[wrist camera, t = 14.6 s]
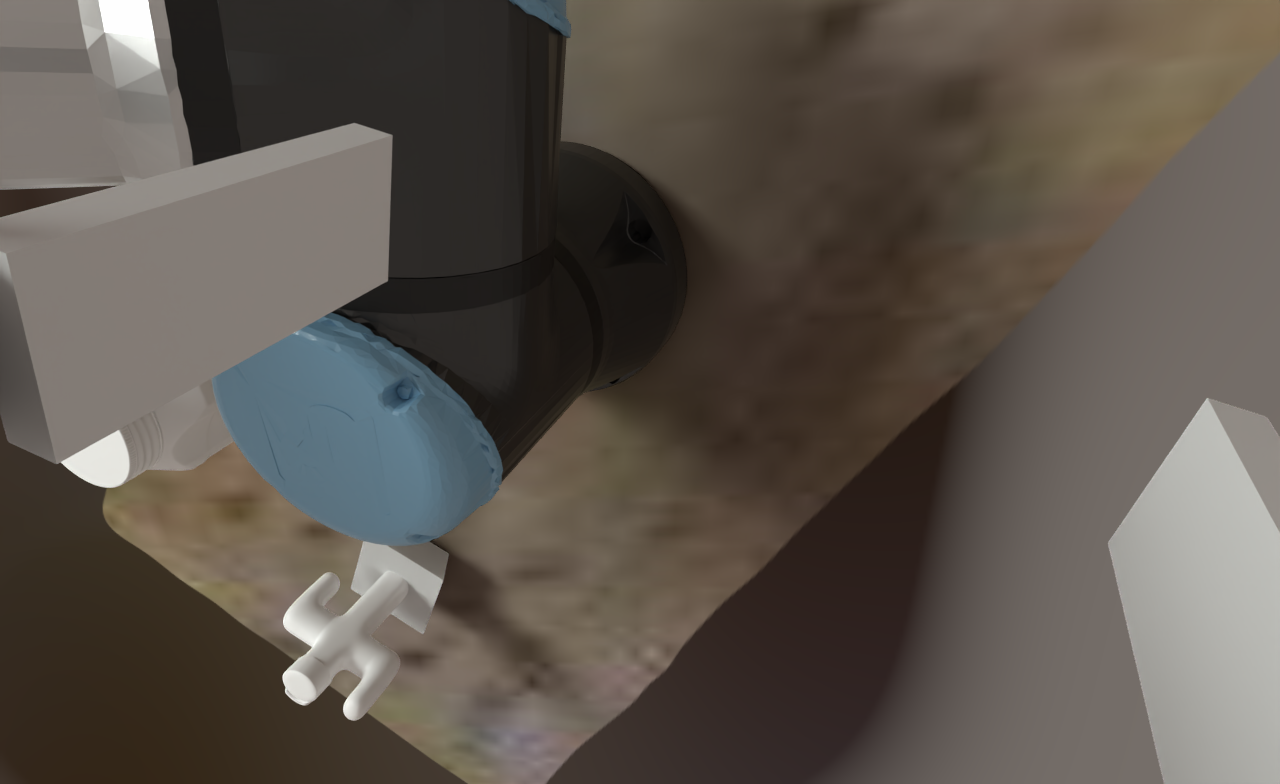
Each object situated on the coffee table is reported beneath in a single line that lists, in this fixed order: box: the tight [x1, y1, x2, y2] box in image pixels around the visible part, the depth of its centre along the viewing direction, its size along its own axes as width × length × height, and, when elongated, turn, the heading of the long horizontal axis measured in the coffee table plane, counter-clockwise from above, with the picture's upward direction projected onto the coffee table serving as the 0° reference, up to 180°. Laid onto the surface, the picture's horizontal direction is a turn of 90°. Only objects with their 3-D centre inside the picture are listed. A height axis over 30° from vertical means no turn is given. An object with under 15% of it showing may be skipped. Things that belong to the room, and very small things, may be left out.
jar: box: [61, 379, 234, 488], centre depth 57 cm, size 12×10×15 cm
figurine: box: [283, 541, 449, 720], centre depth 61 cm, size 7×9×15 cm
